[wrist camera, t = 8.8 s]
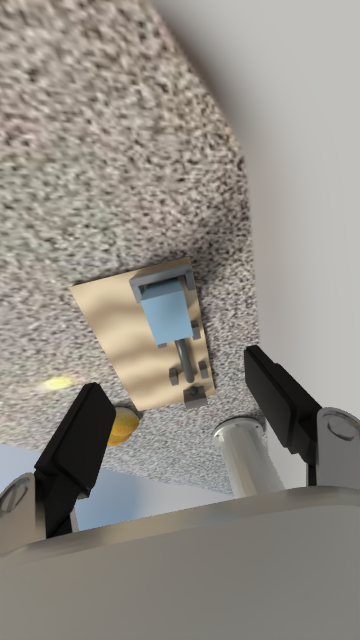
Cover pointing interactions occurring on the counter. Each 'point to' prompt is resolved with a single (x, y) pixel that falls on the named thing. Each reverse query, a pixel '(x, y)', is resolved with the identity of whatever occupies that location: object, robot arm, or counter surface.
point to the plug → (169, 318)
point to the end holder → (161, 278)
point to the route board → (146, 342)
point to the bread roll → (123, 426)
